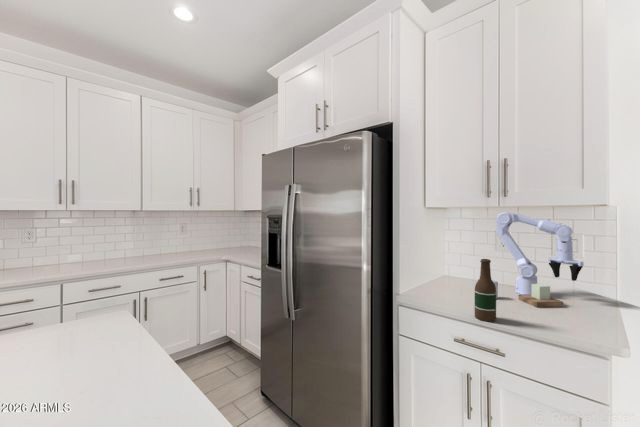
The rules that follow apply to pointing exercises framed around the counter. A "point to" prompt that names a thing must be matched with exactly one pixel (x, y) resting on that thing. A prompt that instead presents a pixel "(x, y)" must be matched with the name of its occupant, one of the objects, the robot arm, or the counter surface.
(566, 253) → the robot arm
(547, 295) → the sage block
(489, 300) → the beer bottle
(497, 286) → the medicine box
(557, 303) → the walnut block
